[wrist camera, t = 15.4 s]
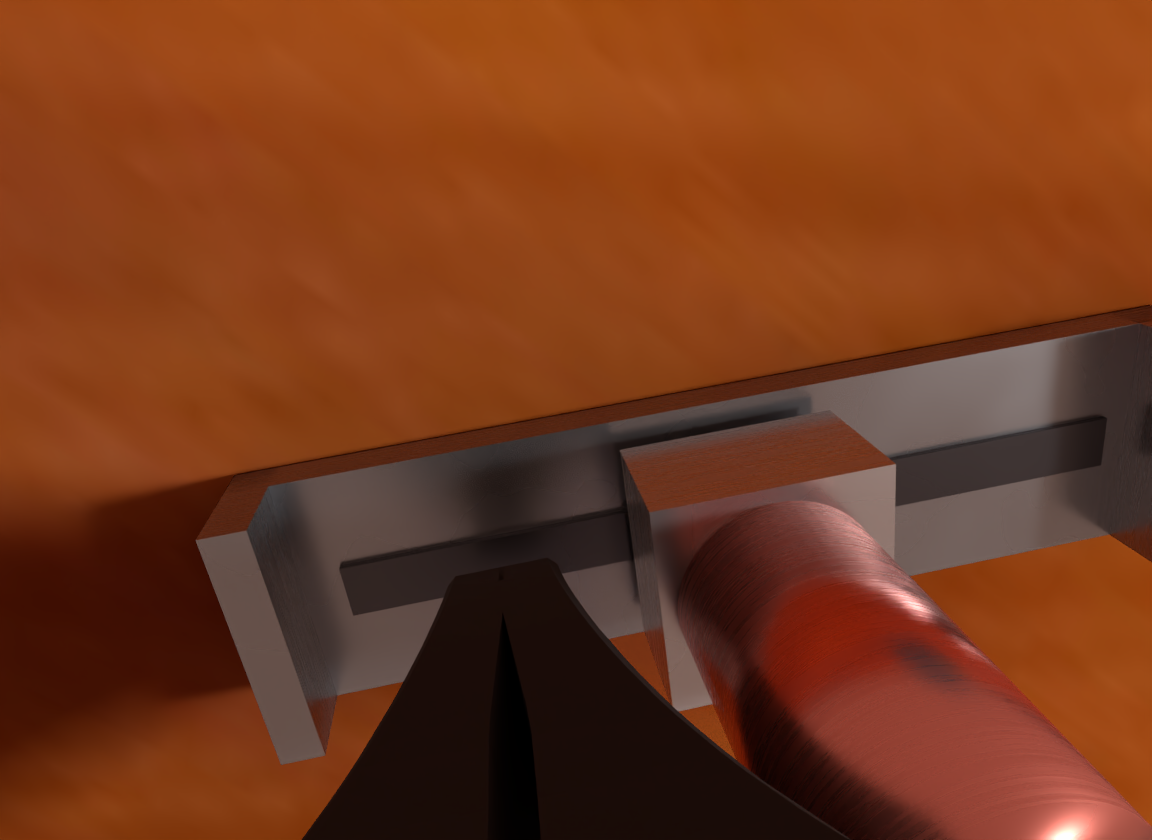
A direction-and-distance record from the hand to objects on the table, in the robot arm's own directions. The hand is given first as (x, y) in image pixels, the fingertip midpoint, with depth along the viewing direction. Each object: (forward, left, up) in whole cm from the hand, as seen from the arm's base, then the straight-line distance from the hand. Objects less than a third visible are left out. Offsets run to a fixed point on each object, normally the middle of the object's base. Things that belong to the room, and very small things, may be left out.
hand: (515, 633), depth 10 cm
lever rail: (0, -3, -2) cm, 4 cm away
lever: (0, -3, -2) cm, 4 cm away
